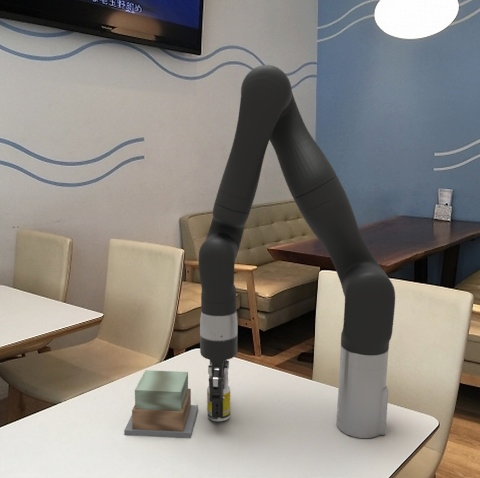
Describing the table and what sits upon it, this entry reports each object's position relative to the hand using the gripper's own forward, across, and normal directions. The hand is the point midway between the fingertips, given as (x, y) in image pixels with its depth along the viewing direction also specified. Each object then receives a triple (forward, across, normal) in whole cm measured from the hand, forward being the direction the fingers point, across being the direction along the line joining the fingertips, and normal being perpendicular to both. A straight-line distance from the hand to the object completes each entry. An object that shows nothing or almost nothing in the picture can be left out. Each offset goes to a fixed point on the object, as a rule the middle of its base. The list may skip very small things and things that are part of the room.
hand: (218, 409), depth 112 cm
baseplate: (+2, -2, +11) cm, 12 cm away
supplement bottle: (+2, 0, 0) cm, 2 cm away
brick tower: (+2, -2, +11) cm, 12 cm away
